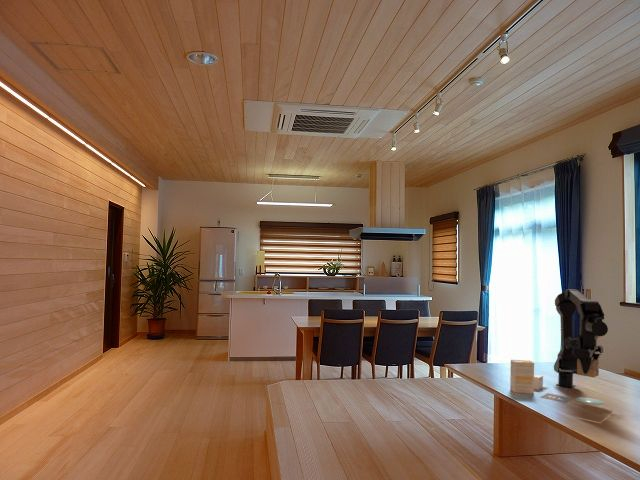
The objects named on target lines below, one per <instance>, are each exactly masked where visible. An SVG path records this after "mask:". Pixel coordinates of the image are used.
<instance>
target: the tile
mask: <svg viewBox="0 0 640 480" xmlns="http://www.w3.org/2000/svg"><path fill="white" fill-rule="evenodd" d="M548 389H549V387H546V386H543V388H541V389H539V390H537V389H534V391H537V392H544V391H546V390H548Z"/></svg>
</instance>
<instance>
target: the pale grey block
mask: <svg viewBox="0 0 640 480" xmlns="http://www.w3.org/2000/svg"><path fill="white" fill-rule="evenodd" d="M543 384H544V376H543V375H538V374H535V373H534V389H537V390H539V389H541V388H543V387H544V385H543ZM537 390H536V391H537Z"/></svg>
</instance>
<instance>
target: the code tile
mask: <svg viewBox="0 0 640 480" xmlns="http://www.w3.org/2000/svg"><path fill="white" fill-rule="evenodd" d="M539 398H540V399H545V400H549V401H552V402H553V401H554V402H560V403H563V404H568V403H569V402H571V401H572V400H575V398H572V397H569V396H563V395H559V394H553V393H551V392H550V393H549V392H547V393H545V394H543V395H542V396H539Z"/></svg>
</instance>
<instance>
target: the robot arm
mask: <svg viewBox="0 0 640 480" xmlns="http://www.w3.org/2000/svg"><path fill="white" fill-rule="evenodd" d="M554 306H555V307H556V308H555V310H556V312H557V313H558V315H559V316H560V318H559V319H560V347H561V348H560V350H559V352H558V353H557V359H556V361H555V362H554V365H553V371H554V372H556V374H558V376H557V377H558V382H557V383H556V384H555V386H556V387H562V388H567V389H571V390H572V389H573V388H575V387H576V385H575V384H574V375H575V374H576V375H577V359H579V360H580V362H581V366H582V369H583V373H584V374H587V372H588V370H589V367H590V365H591V363H592V360H593V359H595V360H599V359H600V357H601V356H602V354H603V353H604V347H603V346H602V345H600V344H598V341H597V339H599V337H604V336H605V335H607V333H608V331H609V327H608V325H607V324H606V323H605V322H604V321H603V320H605V314H604V311H603V309H602V306H601V304H600V303H599V301H597V300H595V299H590V298H587V297H586V296H585V295H584V294H582V293H581V292H580V290H578V289H569V288H568V289H565V290H564V292H561V293H559V294H558V295H557V296H556V297H555V299H554ZM576 311H577V312H578V314H579V320H580V327H579V328H580V330H579V331H580V332H579V334H578V335H577V337H576V338H574V333H573V332H574V331H573V316H574V315H575V313H576ZM598 352H599V353H598Z"/></svg>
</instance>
